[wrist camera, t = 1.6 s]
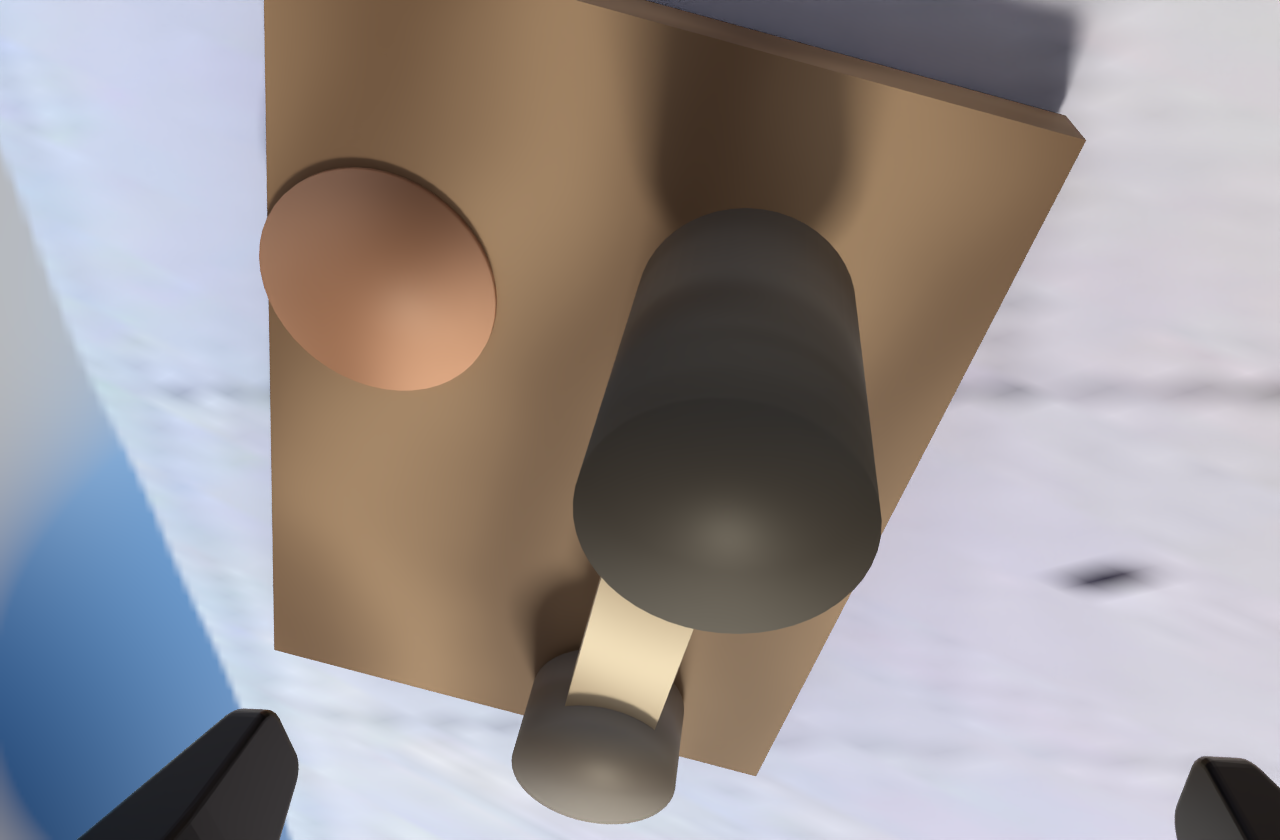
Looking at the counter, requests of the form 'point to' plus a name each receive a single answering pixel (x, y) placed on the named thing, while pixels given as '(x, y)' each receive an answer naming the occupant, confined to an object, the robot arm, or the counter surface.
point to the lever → (706, 497)
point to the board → (576, 303)
